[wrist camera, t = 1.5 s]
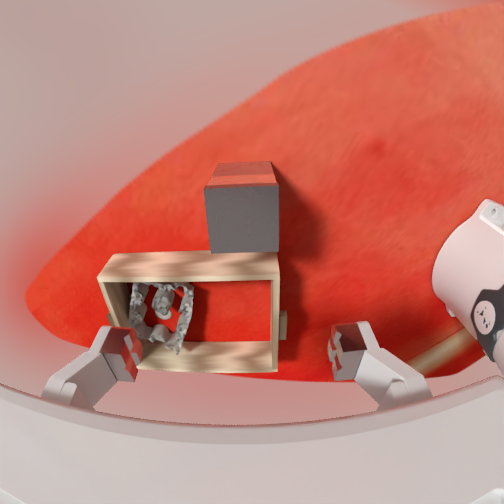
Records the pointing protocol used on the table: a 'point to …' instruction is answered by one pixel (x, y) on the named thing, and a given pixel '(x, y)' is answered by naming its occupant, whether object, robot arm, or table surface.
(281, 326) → the tote
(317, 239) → the table surface
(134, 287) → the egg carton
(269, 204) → the tin
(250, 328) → the table surface
